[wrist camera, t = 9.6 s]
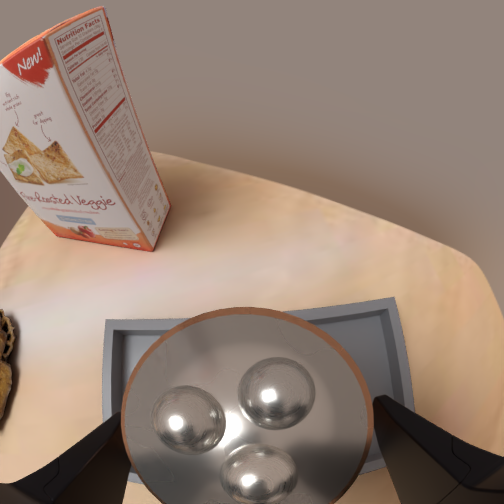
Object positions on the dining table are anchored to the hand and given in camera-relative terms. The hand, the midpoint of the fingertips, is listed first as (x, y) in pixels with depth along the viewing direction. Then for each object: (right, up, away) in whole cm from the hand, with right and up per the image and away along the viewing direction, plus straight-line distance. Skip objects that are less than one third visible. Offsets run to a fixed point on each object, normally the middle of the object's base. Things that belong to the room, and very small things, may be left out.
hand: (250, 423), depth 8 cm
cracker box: (-15, +9, +18) cm, 25 cm away
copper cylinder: (0, -5, +9) cm, 10 cm away
